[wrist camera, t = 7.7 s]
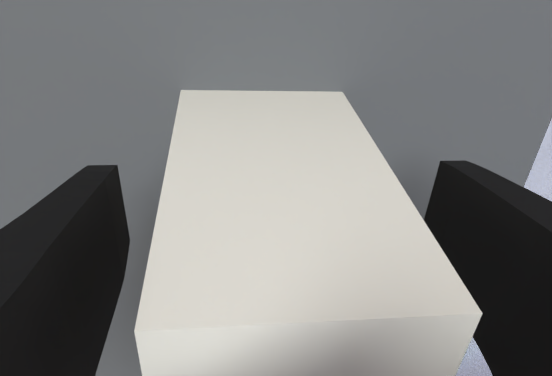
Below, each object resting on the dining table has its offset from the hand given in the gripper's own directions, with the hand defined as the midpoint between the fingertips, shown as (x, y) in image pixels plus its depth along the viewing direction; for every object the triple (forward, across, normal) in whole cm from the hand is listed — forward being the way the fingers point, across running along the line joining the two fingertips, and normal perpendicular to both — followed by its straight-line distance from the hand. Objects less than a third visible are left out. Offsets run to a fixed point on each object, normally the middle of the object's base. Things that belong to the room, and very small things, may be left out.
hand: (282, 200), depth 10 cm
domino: (+5, 0, 0) cm, 5 cm away
